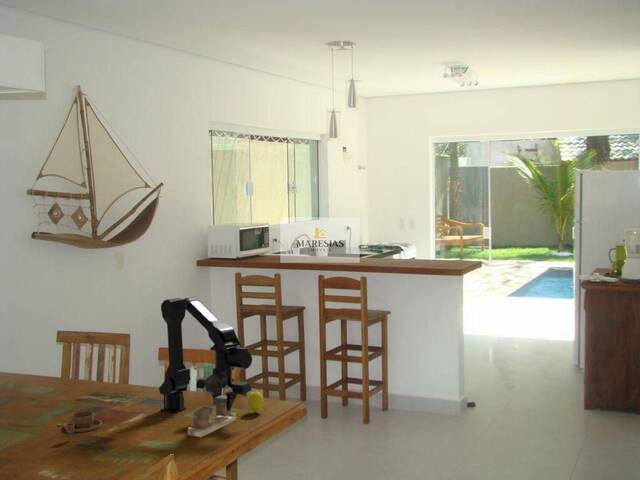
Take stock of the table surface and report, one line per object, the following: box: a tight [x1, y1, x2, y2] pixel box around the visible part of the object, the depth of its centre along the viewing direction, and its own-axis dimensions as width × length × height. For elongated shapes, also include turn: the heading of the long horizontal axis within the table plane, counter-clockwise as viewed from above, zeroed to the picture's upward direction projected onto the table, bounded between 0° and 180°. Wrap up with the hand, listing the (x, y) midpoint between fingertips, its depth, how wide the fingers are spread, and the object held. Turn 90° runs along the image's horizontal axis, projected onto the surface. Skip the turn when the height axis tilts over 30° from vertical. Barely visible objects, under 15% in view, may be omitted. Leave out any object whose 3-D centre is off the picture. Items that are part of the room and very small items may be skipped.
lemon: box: [247, 390, 265, 414], centre depth 268 cm, size 6×6×8 cm
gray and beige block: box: [212, 394, 232, 416], centre depth 256 cm, size 4×5×6 cm, turn 154°
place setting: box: [56, 410, 103, 443], centre depth 248 cm, size 18×20×6 cm
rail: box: [187, 406, 237, 438], centre depth 252 cm, size 5×20×8 cm, turn 154°
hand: (223, 410), depth 257 cm, fingers closed on gray and beige block, 4 cm apart
